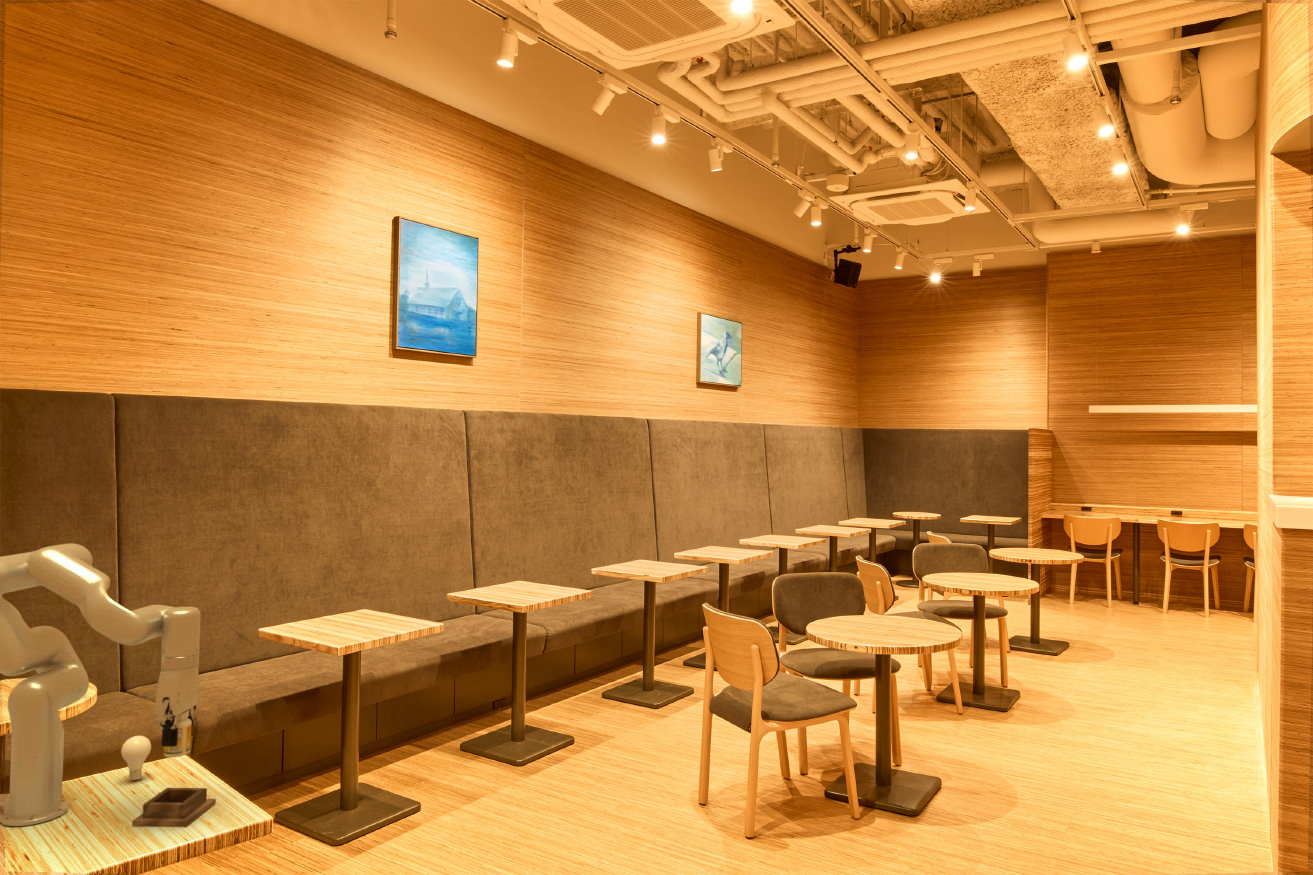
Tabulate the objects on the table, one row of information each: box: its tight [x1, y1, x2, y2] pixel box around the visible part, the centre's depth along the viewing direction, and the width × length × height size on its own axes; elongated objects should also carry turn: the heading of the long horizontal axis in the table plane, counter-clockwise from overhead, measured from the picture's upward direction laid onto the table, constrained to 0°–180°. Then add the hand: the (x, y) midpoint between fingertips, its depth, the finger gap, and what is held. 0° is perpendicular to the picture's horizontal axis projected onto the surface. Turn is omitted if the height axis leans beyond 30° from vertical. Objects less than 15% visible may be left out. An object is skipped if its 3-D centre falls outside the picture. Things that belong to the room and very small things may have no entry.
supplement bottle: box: [163, 710, 192, 758], centre depth 185 cm, size 5×5×10 cm
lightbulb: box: [120, 735, 152, 782], centre depth 204 cm, size 6×6×11 cm
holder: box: [131, 787, 217, 828], centre depth 185 cm, size 12×12×4 cm
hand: (177, 740), depth 185 cm, fingers closed on supplement bottle, 5 cm apart
